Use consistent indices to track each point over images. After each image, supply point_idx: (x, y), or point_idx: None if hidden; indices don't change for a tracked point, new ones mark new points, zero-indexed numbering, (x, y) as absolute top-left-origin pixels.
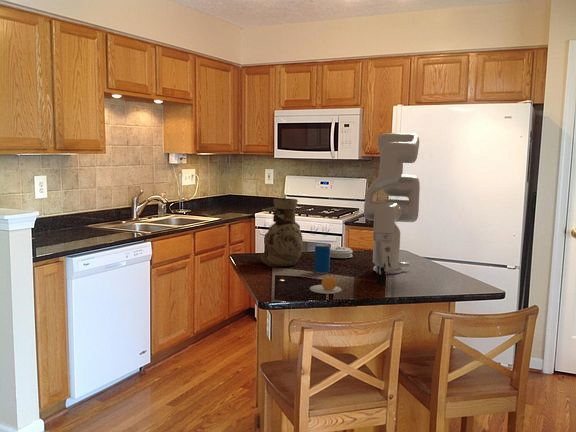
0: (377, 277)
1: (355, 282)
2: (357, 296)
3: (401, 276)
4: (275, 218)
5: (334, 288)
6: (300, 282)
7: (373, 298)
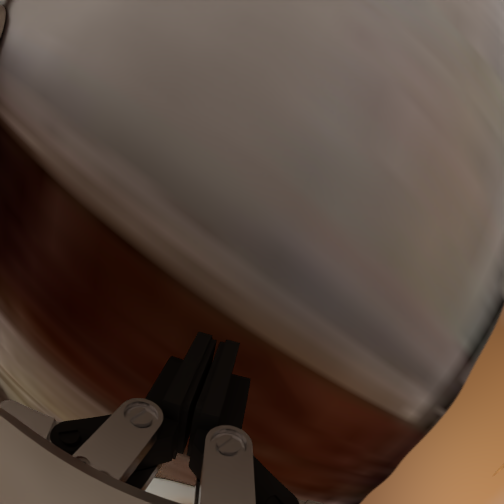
0: (190, 430)
1: (76, 381)
2: (326, 492)
3: (36, 18)
4: None
5: (186, 495)
6: None
7: (391, 463)
